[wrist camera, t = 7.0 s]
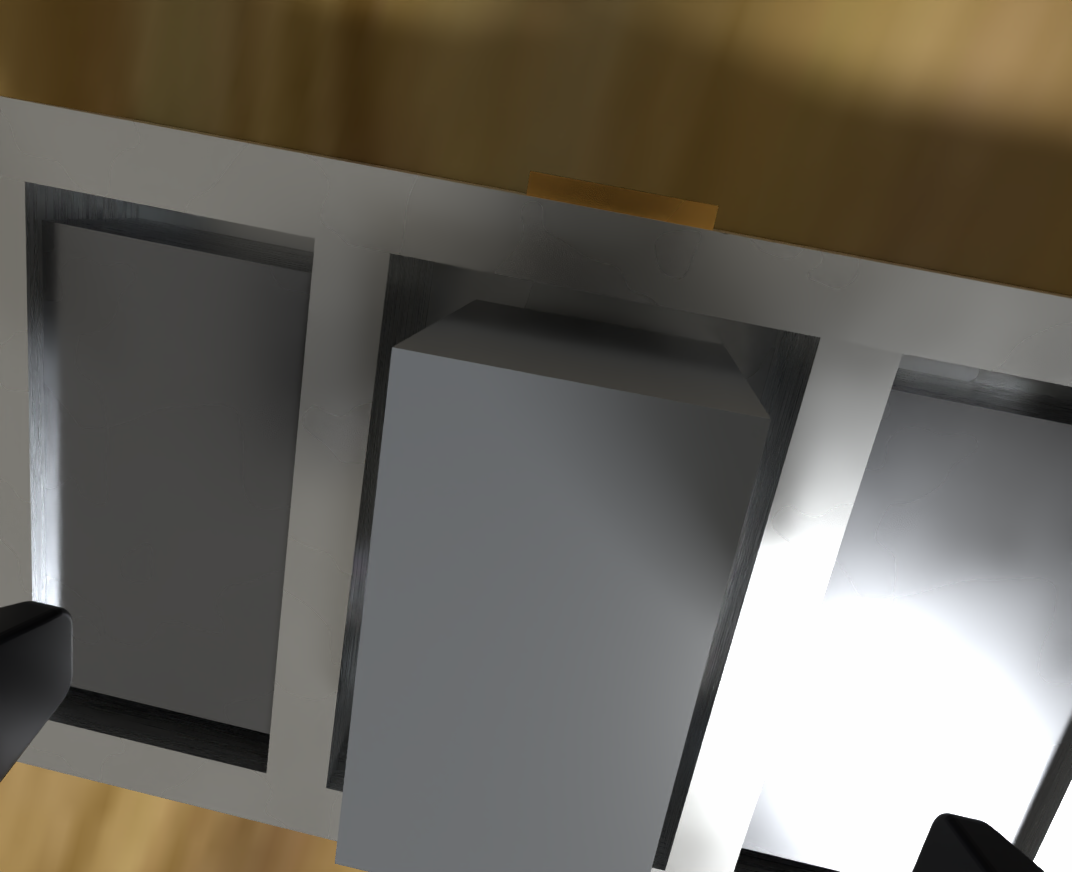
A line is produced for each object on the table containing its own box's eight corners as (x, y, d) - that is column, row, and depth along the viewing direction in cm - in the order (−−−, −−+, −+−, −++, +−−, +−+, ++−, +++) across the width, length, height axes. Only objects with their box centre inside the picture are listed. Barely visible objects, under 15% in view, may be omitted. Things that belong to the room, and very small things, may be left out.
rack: (1179, 295, 12) (1384, 329, 9) (948, 839, 15) (1034, 1015, 12) (121, 98, 13) (-51, 61, 10) (112, 642, 17) (-20, 752, 13)
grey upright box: (724, 345, 12) (771, 419, 8) (635, 717, 14) (634, 934, 10) (476, 299, 13) (392, 347, 8) (423, 670, 15) (334, 863, 10)
